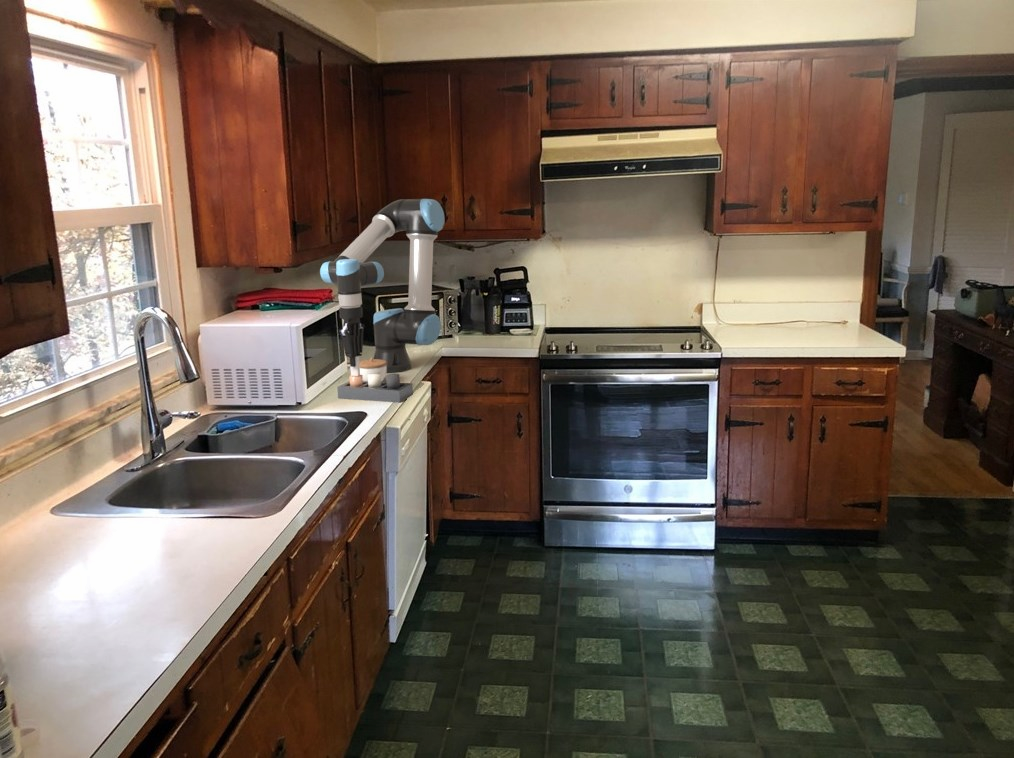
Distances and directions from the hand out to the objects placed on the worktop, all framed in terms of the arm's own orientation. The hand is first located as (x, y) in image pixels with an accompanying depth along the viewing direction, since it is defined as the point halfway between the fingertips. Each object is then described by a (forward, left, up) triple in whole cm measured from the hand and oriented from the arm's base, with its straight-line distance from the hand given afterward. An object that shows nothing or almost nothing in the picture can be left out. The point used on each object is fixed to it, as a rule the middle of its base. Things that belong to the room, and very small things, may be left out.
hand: (355, 375), depth 268 cm
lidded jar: (-17, -3, -7) cm, 19 cm away
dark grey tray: (0, +7, -7) cm, 10 cm away
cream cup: (0, +7, -4) cm, 8 cm away
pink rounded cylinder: (0, 0, -5) cm, 5 cm away
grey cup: (0, +14, -4) cm, 15 cm away
